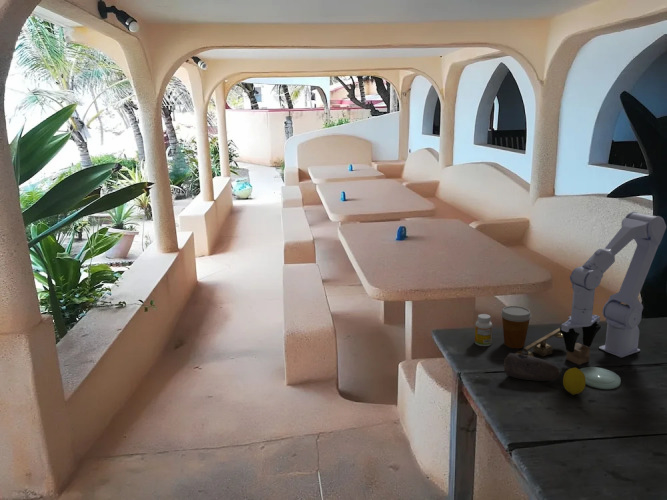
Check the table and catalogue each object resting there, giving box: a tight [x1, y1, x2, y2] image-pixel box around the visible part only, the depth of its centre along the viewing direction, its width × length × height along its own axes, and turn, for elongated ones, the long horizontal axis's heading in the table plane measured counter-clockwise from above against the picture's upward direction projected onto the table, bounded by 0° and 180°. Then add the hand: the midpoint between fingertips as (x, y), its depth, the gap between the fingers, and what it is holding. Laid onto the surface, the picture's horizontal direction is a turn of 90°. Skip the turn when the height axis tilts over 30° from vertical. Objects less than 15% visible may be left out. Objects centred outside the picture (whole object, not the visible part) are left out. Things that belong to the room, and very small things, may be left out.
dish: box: [579, 366, 622, 390], centre depth 149 cm, size 11×11×1 cm
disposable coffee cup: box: [500, 305, 532, 349], centre depth 172 cm, size 10×10×12 cm
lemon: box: [562, 367, 586, 396], centre depth 141 cm, size 6×6×8 cm
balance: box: [515, 327, 564, 357], centre depth 166 cm, size 21×5×7 cm, turn 117°
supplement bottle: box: [474, 313, 493, 347], centre depth 174 cm, size 5×5×10 cm
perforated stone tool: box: [503, 352, 560, 382], centre depth 150 cm, size 15×5×7 cm, turn 68°
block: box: [565, 342, 591, 366], centre depth 161 cm, size 4×4×4 cm
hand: (578, 348), depth 160 cm, fingers open, 7 cm apart
